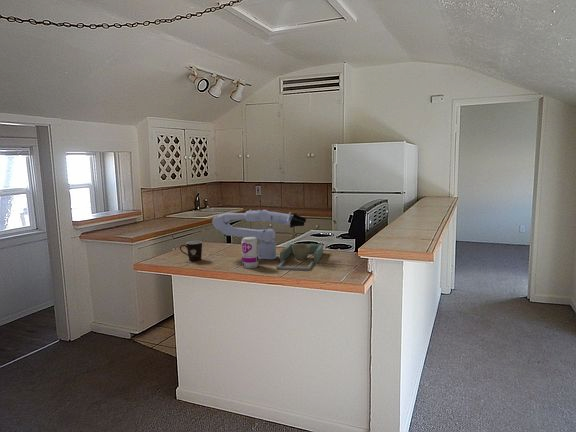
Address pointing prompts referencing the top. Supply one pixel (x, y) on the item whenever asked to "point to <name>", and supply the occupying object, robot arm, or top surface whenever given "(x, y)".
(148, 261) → the top surface
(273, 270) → the top surface
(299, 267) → the edging
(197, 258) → the coffee mug
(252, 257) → the supplement can
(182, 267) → the top surface
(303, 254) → the flower pot
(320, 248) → the cold frame
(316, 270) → the top surface
